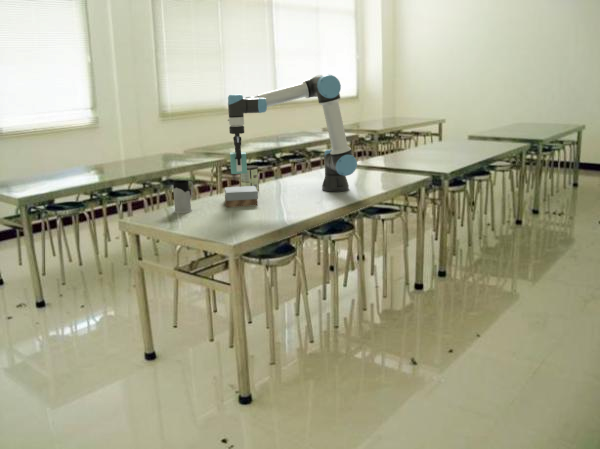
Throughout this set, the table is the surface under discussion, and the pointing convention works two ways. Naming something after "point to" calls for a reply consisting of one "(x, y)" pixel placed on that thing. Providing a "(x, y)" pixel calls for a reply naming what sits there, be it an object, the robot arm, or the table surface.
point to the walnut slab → (240, 202)
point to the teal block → (233, 163)
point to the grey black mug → (182, 196)
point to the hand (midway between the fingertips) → (238, 170)
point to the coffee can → (250, 177)
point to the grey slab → (241, 193)
